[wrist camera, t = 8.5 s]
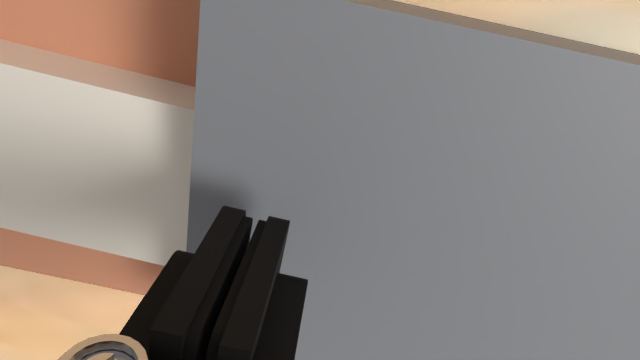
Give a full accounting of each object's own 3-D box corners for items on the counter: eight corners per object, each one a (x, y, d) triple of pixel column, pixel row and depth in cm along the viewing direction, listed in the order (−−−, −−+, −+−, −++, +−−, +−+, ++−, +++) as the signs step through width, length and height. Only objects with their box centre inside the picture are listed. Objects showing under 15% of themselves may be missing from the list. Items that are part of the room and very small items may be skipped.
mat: (-76, 241, 18) (-85, 247, 18) (-209, -193, 12) (-227, -198, 11) (213, 302, 19) (210, 309, 18) (253, -91, 12) (250, -92, 11)
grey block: (216, 276, 18) (180, 353, 14) (247, -32, 12) (201, -31, 9) (578, 352, 18) (631, 446, 15) (767, 82, 13) (926, 128, 9)
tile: (-16, 186, 16) (-62, 213, 15) (-44, 28, 14) (-104, 37, 12) (210, 239, 17) (192, 272, 15) (228, 95, 14) (209, 113, 12)
